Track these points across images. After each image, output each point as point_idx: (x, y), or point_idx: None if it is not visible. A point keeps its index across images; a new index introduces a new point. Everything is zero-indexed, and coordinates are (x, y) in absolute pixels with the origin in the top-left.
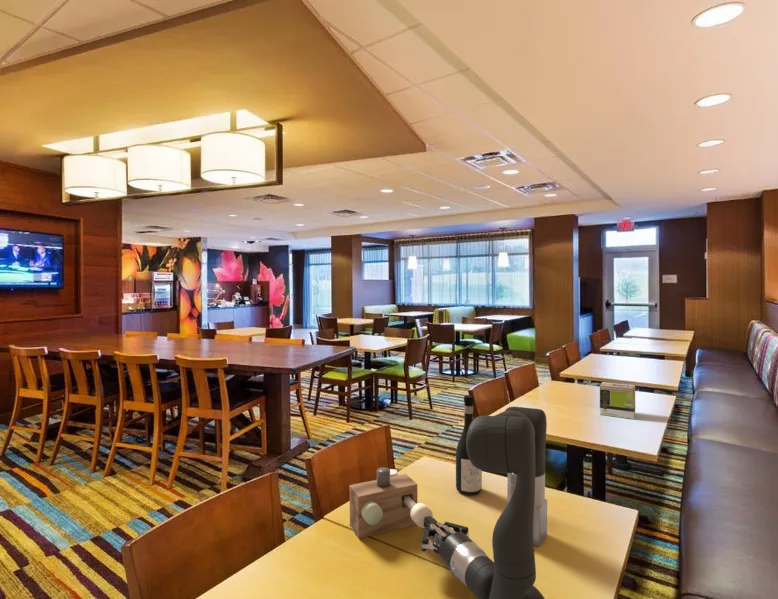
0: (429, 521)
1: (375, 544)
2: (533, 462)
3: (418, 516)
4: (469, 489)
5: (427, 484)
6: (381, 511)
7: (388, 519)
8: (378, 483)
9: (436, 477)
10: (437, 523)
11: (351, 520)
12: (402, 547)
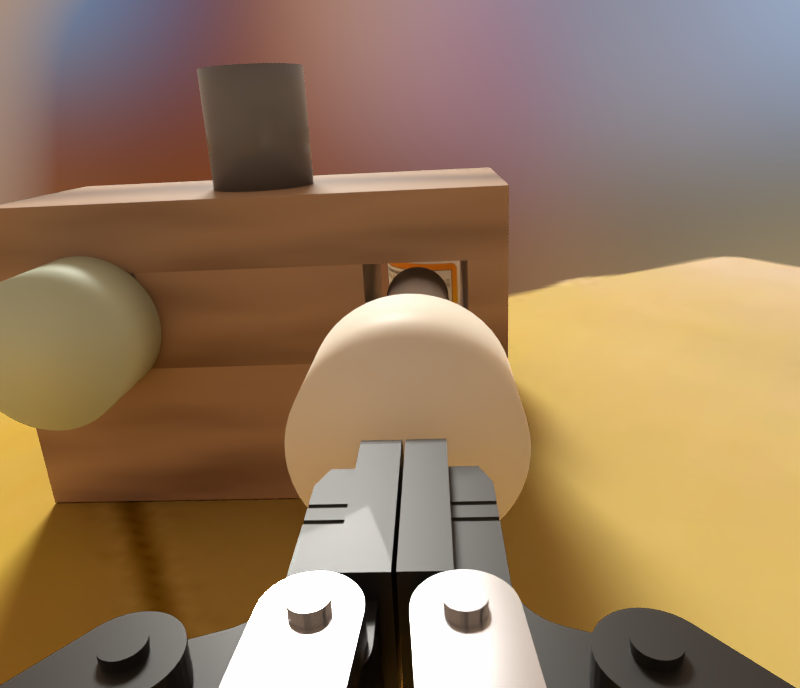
0: (347, 515)
1: (79, 573)
2: None
3: (321, 421)
4: None
5: (692, 321)
6: (104, 335)
7: (263, 422)
8: (210, 164)
9: (754, 304)
10: (438, 597)
11: None
12: None
